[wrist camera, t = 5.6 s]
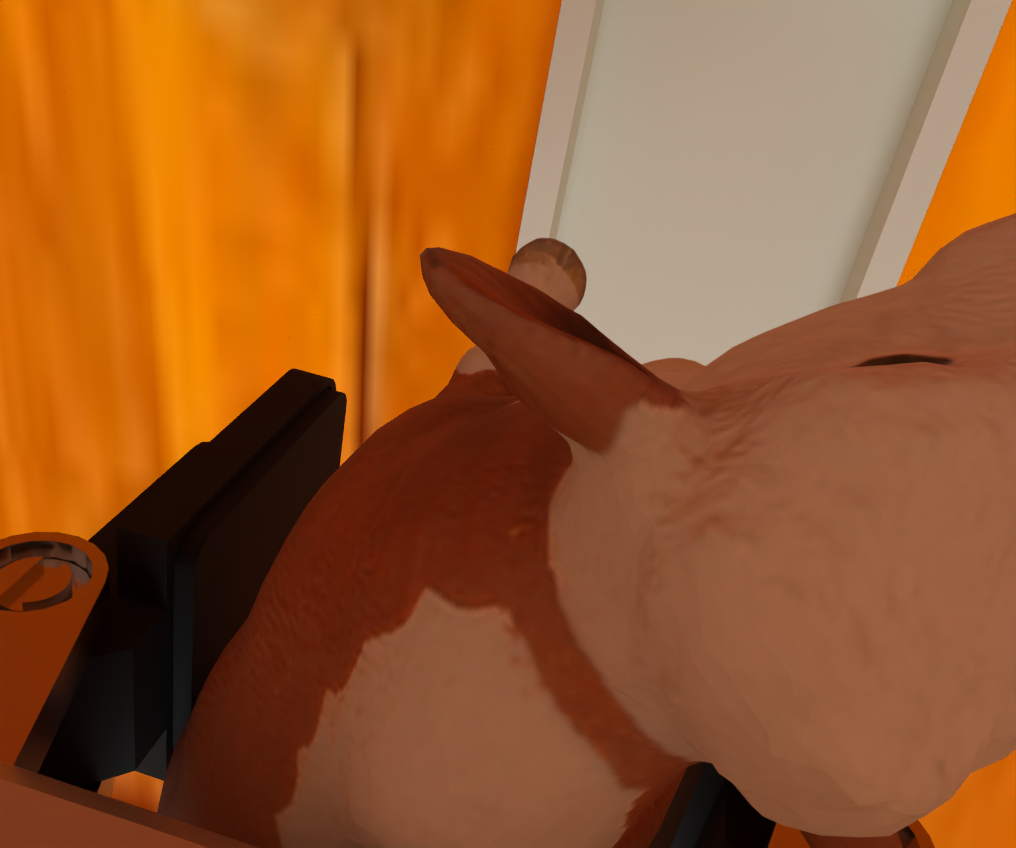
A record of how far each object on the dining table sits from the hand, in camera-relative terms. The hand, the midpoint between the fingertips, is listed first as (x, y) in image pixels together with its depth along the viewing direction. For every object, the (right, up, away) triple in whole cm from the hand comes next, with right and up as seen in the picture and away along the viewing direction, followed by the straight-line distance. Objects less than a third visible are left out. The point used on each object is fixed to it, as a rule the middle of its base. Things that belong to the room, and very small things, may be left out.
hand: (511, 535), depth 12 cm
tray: (+5, +6, +14) cm, 16 cm away
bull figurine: (0, +1, +1) cm, 1 cm away
